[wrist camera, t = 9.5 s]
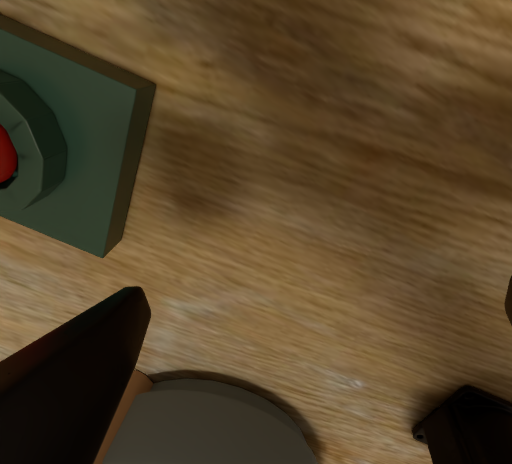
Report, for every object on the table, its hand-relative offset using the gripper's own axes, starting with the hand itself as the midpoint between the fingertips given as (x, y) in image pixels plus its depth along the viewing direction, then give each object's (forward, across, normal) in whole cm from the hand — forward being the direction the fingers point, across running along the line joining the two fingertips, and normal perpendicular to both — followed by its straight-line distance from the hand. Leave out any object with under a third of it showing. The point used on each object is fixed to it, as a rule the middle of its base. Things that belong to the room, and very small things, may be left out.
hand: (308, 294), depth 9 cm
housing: (+11, +15, -4) cm, 19 cm away
